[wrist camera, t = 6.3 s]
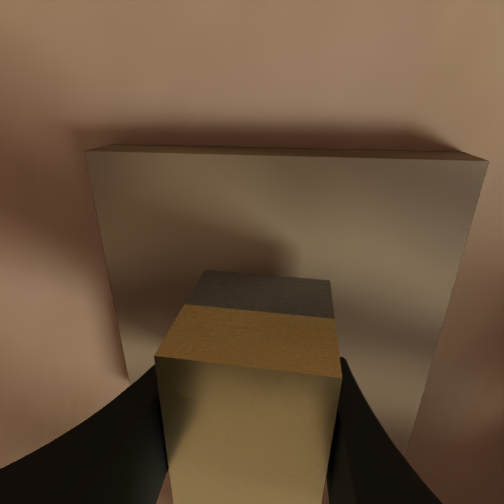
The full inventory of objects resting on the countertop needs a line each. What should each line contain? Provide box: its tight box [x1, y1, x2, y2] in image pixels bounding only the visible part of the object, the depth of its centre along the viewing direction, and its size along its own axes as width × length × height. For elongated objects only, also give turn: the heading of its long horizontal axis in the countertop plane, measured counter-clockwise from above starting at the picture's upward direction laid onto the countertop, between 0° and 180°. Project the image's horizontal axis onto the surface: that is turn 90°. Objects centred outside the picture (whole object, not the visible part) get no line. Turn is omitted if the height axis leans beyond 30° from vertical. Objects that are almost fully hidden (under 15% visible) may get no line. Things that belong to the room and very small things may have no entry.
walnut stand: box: [84, 144, 489, 452], centre depth 16 cm, size 14×14×2 cm
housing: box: [154, 270, 342, 504], centre depth 11 cm, size 4×6×5 cm
